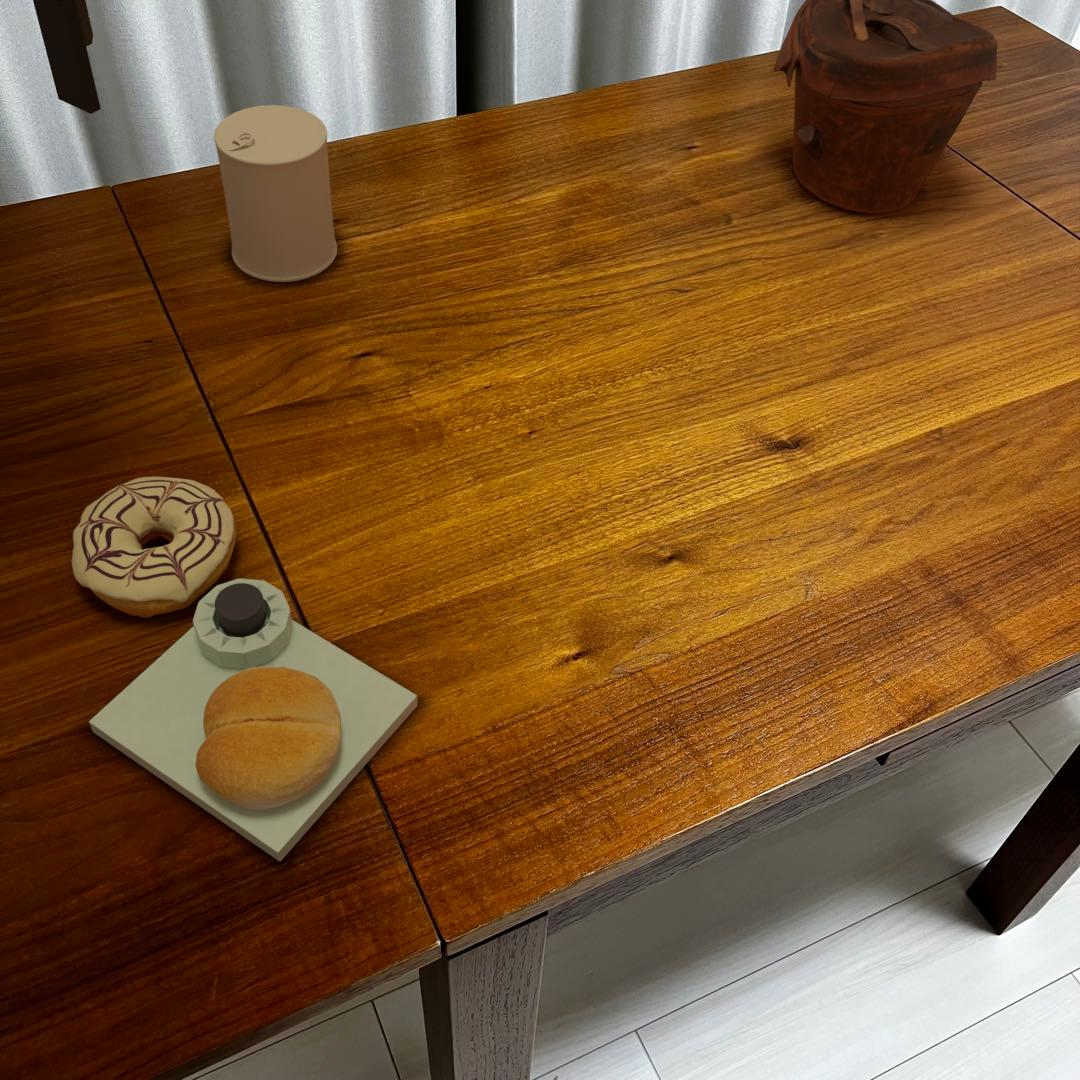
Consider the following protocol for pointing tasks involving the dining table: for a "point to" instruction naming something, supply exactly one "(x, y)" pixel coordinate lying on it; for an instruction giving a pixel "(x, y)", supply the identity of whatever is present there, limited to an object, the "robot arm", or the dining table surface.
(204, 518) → the decorated donut
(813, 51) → the case
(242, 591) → the button
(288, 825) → the scale
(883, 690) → the dining table surface
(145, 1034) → the dining table surface
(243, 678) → the bread roll
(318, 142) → the can
